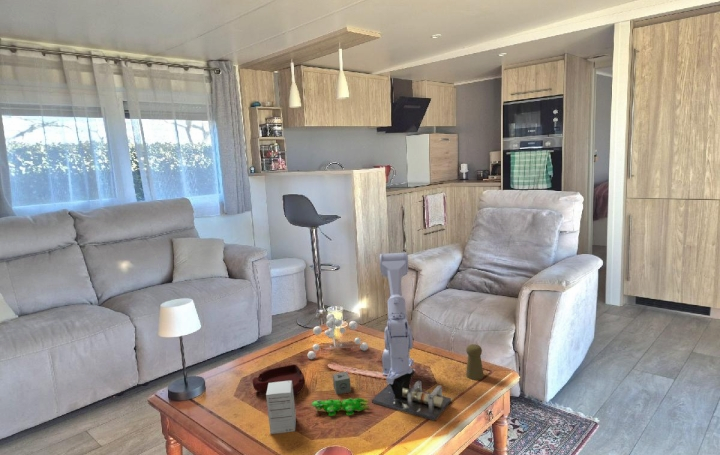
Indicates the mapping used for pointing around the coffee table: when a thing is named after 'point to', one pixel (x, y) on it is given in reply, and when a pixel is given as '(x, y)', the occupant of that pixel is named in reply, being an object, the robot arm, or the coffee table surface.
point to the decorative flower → (330, 332)
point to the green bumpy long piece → (341, 405)
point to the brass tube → (423, 397)
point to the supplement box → (281, 407)
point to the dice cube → (341, 383)
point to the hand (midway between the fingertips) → (401, 394)
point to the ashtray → (280, 378)
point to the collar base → (409, 405)
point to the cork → (474, 362)
